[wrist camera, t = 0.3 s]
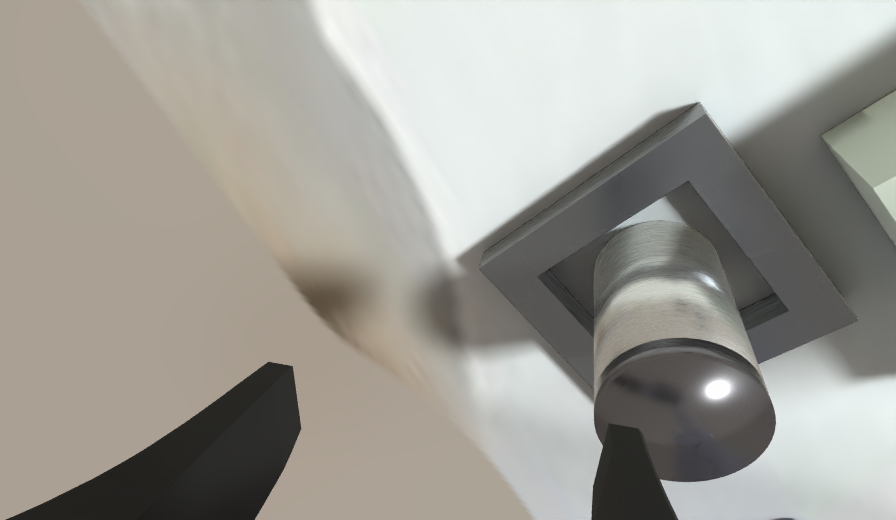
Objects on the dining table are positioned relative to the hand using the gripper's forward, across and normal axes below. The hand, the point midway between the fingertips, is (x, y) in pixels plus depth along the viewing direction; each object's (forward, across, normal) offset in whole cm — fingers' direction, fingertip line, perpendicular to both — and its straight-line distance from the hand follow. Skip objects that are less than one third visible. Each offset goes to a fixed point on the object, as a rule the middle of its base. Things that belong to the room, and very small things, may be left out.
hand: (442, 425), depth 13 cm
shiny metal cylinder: (+10, -6, +1) cm, 12 cm away
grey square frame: (+10, -6, +1) cm, 12 cm away
